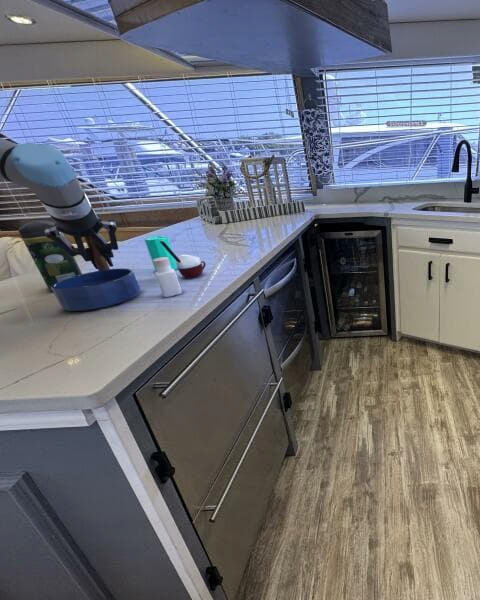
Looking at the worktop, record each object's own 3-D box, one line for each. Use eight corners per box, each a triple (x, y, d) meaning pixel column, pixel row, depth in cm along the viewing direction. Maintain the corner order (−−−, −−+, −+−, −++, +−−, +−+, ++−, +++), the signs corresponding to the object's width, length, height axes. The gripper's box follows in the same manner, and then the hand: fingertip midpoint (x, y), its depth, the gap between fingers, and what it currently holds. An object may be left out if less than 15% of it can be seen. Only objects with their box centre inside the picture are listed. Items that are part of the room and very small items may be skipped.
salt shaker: (164, 298, 81) (151, 262, 77) (162, 294, 84) (149, 259, 80) (182, 294, 83) (171, 258, 79) (180, 290, 86) (168, 255, 82)
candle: (161, 273, 100) (147, 235, 96) (152, 271, 103) (138, 234, 99) (181, 268, 105) (169, 231, 100) (172, 266, 108) (160, 230, 103)
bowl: (58, 319, 72) (45, 294, 69) (67, 299, 83) (56, 277, 80) (142, 300, 80) (133, 277, 78) (140, 285, 91) (132, 264, 89)
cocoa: (206, 271, 101) (195, 233, 96) (211, 275, 97) (199, 236, 92) (171, 278, 96) (157, 238, 91) (174, 283, 91) (160, 242, 86)
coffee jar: (49, 285, 94) (16, 221, 86) (85, 278, 99) (57, 217, 91) (47, 294, 87) (12, 225, 80) (86, 286, 92) (56, 220, 85)
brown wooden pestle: (99, 290, 88) (72, 230, 82) (100, 285, 92) (74, 228, 85) (122, 285, 91) (98, 227, 84) (122, 281, 94) (99, 225, 88)
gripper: (24, 226, 68) (70, 281, 87) (117, 217, 77) (140, 268, 95) (18, 199, 70) (63, 258, 88) (109, 192, 78) (133, 248, 97)
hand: (103, 263), depth 92 cm, fingers closed on brown wooden pestle, 2 cm apart
